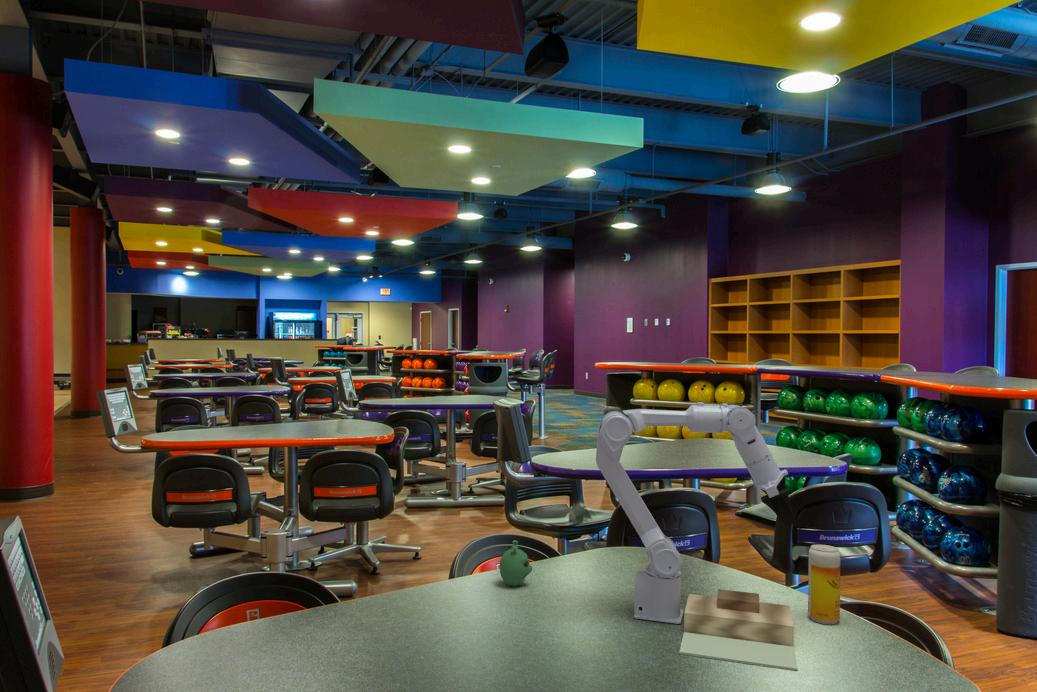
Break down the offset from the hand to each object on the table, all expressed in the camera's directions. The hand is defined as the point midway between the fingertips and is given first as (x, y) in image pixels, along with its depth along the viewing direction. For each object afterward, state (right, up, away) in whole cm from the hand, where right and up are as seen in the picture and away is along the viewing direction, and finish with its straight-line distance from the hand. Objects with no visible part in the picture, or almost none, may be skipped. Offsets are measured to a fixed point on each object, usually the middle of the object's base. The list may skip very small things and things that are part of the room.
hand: (789, 518), depth 145 cm
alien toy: (-57, -21, +20) cm, 64 cm away
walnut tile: (-11, -17, -3) cm, 21 cm away
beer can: (+8, -22, +1) cm, 23 cm away
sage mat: (-16, -21, -16) cm, 30 cm away
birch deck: (-12, -21, -5) cm, 25 cm away
